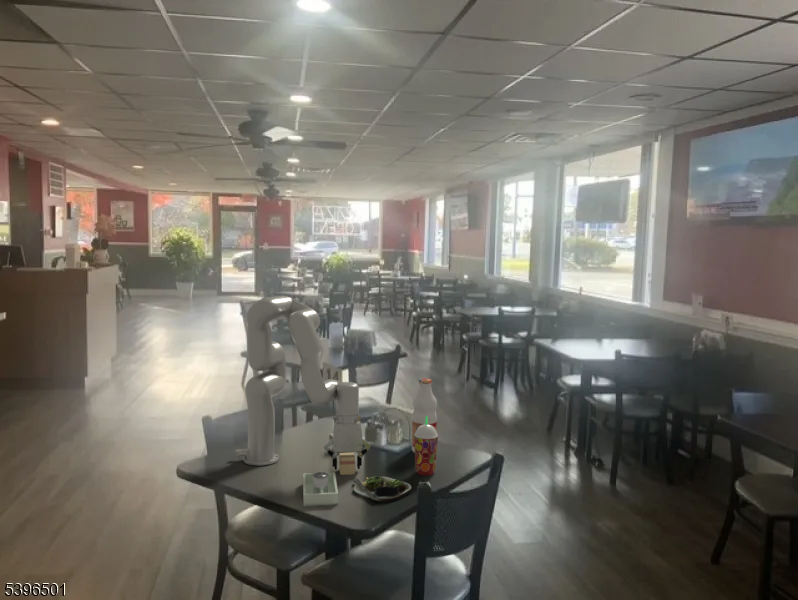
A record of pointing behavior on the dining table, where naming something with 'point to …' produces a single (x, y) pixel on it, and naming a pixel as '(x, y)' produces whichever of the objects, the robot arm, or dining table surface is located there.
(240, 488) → the dining table surface
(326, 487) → the steel can
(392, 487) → the salad plate
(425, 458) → the smoothie
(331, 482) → the tote
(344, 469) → the cardboard box
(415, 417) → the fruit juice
